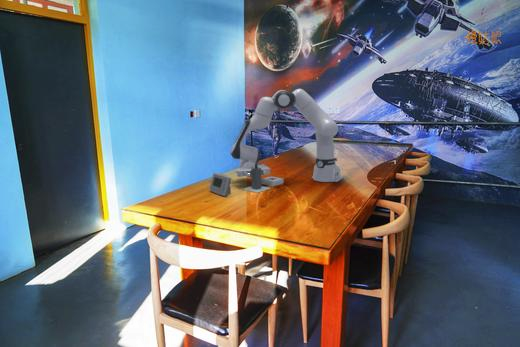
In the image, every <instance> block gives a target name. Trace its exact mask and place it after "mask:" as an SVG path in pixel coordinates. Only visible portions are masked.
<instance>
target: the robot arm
mask: <svg viewBox="0 0 520 347" xmlns="http://www.w3.org/2000/svg"><path fill="white" fill-rule="evenodd" d="M292 106H294V107H295V109H297V111H298V112H299V113H300V114H301V115H302V116H303V117H304V119H306V121H308V122H309V123H310V124H311V125H312V126H313V127H314V132H315V143H316V155H315V156H316V157H315V165H313V166H314V167H313V175H312V176H311V178H312V179H313V180H314V181H316V182H322V183H333V182H335V183H336V182H337V183H338V182H339V181H340V180H343V179H344V178H345V176H344V175H342V174H341V168H340V167H339V166H338V165H337V164H336V162H337V161H338V158H337V157H335V143H334V137H335V136H336V135H337V134H338V132H339V125H338V124H337V123H336V121H335V119H333V118H332V117H330V115H329V114H328V113H327V112H325V111H324V109H322V108H321V106H320V105H319V104H318V103H317V101H315V99H313V97H312V96H311V95H309V93H307V91H305V90H304V89H302V88H296V89H295V90H294V91H292V92H290V91H288V90H285V89H280V90H277V91H275V93H274V94H273V95H272V96H271V97H270V96H263V97H261V98H260V99H259V102H258V103H257V105H256V109H255V111H254V113H253V115H252V117H250V118H249V119H247V120H246V121H245V122H244V123H243V126H242V127H241V130H240V132H239V133H238V136H237V138H236V139H235V142H233V144H232V146H231V148H230V156H231V157H232V158H233V159H234V160H240V161H239V163H238V168H237V169H236V170H234V173H235V174H236V176H237V177H239V178H240V177H241V178H242V177H247V178H252V173H251V168H255V163H258V168H261V176H266V175H270V174H271V168H270V167H269V166H267V165H265V163H259V161H260V158H261V152H260V149H259V148H258V147H255V146H250V145H247V144H244V141H245V140H246V139H247V138H246V137H247V135H248V134H249V133H250V132H251V131H255V130H263V129H266V128H267V127H269V125H270V124H271V122H272V118H273V115H274V113H275V111H276V110H277V109H281V110H286V109H288V108H291V107H292Z"/></svg>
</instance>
